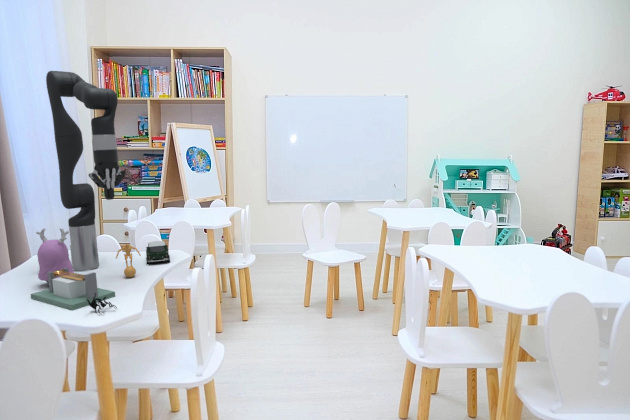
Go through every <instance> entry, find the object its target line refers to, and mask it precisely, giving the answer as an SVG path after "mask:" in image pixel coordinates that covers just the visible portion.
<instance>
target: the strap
mask: <svg viewBox="0 0 630 420" xmlns="http://www.w3.org/2000/svg"><path fill="white" fill-rule="evenodd" d="M77 273H78V272H74V273H71V272H65V271H64V270H63V269H62V270H58V271H54V272H53V274H54V277H57V276H59V277H65V278H70V279H75V280H80V281H84V280H85V278H84V275H85V274H84V275H82V274H83V273H79V274H77Z"/></svg>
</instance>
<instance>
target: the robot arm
mask: <svg viewBox="0 0 630 420" xmlns="http://www.w3.org/2000/svg"><path fill="white" fill-rule="evenodd" d="M45 78H46V79H45V81H46V82H45V83H46V90H47V95H48V99H49V105H50V109H51V115H52V123H53V132H54V133H53V134H54V140H55V141H54V142H55V150H56V154H57V162H58V163H57V164H58V170H59V173H58V174H59V193H60V201H61V203H62V205H63V207H64V208H65V209H66V210H67V209H68V210H72V209H80V210H79V212H78V213H77V214H75V215H73V216H71V217H69V218H68V231H69V238H70V239H69V240H70V245H69V247H70V249H69V250H70V256H71V257H70V258H71V264H72V268H73V271H78V272H81V271H82V272H83V271H90V270H95V269H97V268H99V267H100V260H99V249H98V248H99V247H98V239H97V231H96V200H95V199H96V198H95V197H96V196H95V191H94V187H93V186H92V185H91V184H90V183H74V171H75V168H76V166H77V164H78V163H79V160H80V158H81V156H82V155H83V151H84V142H83V133H82V131H81V128H80V127H79V125H78V124H77V123H76V122H75V121H74V119H73V118H72V117H71V115H70V114H69V113H68V111H67V110H66V108H65V106H64V104H63V101H62V97H63V98H75V99H76V100H77V101H79V102H81V103H82V104H84V107H85V108H86V109H89V110H96V111H97V110H101V111H104V113H103V114H102V115H101V116H95V117H93V118H92V119H91V121H90V123H91V124H90V126H91V134H92V136H91V137H92V138H91V140H92V141H91V142H92V153H93V162H94V167H93V171H92V172H91V173H88V178H90V179H91V181H92V182H94V185H96V186H97V187H98V188H100V189H103V194H104V198H105V200H108V201H110V200H114V198H115V188H116V187H118V186H120V183H121V182H122V180H123V178H124V177H125V174H126V171H125V170H122V169H121V168H120V166H119V164H118V162H119V157H118V156H119V154H118V145H117V139H116V138H117V137H116V133H115V132H116V131H115V130H116V129H115V117H116V113H117V112H116V111H117V107H118V100H119V99H118V95H117V93H116V91H115V90H113V89H112V88H102V87H98V86H96V85H95V84H91V83H89V82H87V81H85V80H84V79H83V78H82V77H81V76H80V75H79V74H77V73H75V72H73V71H72V72H71V71H62V70H61V71H60V70H59V71H58V70H48V72H47V73H46V77H45Z"/></svg>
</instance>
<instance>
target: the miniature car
mask: <svg viewBox="0 0 630 420" xmlns="http://www.w3.org/2000/svg"><path fill="white" fill-rule="evenodd" d="M168 246H169V245H167V244H166V241H165V240H155V241H149V242H148V243H147V246H146V247H145V248H146V250H145V254H146V257H145V259H146V265H147V264H149V265H151V263H153V262H161V261H163V262H166V263H171V259H170V255H169V247H168Z"/></svg>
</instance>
